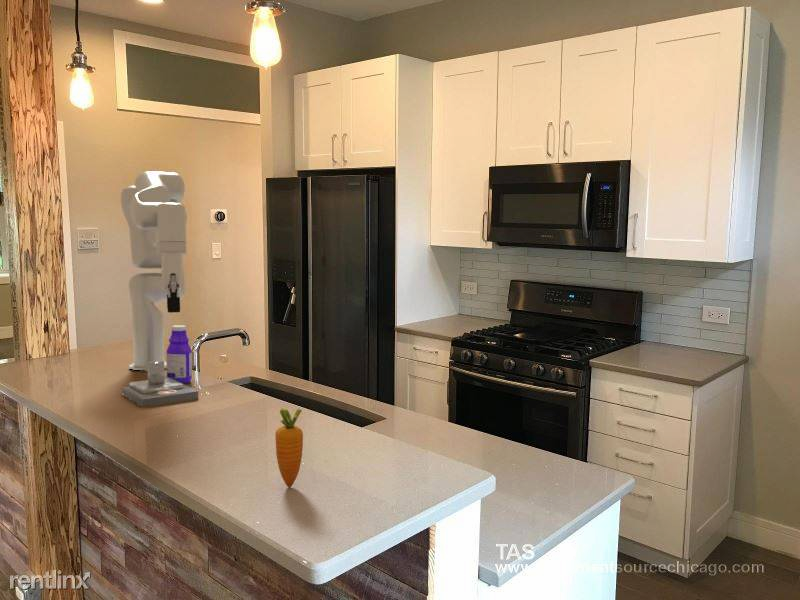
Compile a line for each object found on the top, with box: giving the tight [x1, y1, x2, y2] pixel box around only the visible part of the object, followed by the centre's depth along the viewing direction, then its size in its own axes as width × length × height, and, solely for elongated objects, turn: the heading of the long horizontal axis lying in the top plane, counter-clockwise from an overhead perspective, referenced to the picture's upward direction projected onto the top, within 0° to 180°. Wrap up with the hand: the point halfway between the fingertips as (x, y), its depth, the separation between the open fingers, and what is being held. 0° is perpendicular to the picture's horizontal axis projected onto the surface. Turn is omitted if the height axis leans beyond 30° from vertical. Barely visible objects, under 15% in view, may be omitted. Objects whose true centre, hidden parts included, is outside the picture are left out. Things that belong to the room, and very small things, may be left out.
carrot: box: [275, 407, 304, 488], centre depth 122 cm, size 5×5×15 cm
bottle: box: [166, 324, 193, 385], centre depth 202 cm, size 7×6×17 cm
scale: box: [121, 380, 199, 409], centre depth 186 cm, size 17×15×3 cm
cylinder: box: [147, 360, 166, 385], centre depth 187 cm, size 4×4×6 cm
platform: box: [129, 376, 183, 394], centre depth 187 cm, size 11×11×1 cm
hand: (173, 310), depth 185 cm, fingers open, 9 cm apart
